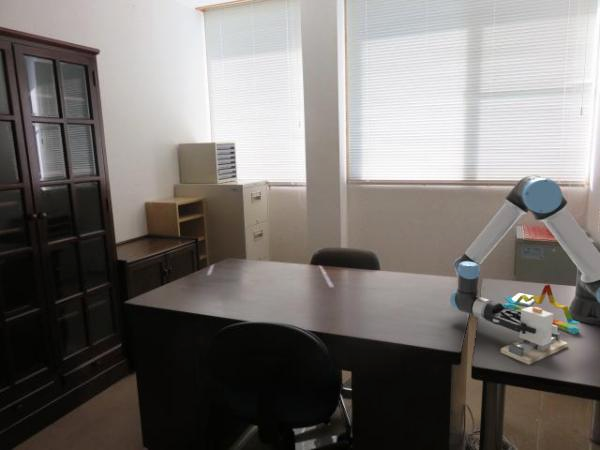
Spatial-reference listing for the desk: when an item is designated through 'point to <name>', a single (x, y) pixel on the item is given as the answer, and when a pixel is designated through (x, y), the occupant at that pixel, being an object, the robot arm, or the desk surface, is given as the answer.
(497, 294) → the desk surface
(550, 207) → the robot arm
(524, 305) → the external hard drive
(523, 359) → the rail board
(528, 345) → the steel rail
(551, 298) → the chart
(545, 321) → the breaker module
